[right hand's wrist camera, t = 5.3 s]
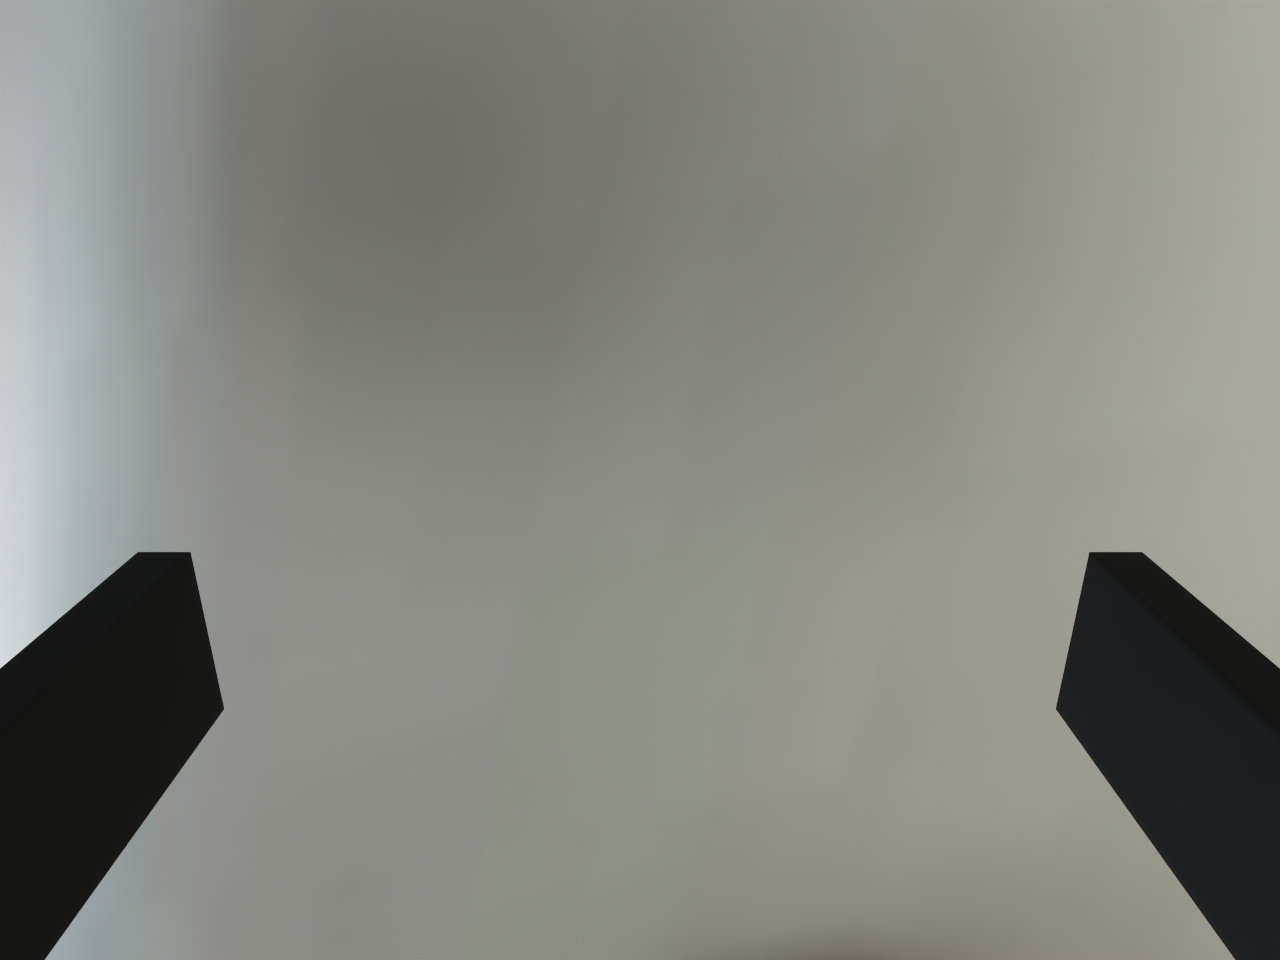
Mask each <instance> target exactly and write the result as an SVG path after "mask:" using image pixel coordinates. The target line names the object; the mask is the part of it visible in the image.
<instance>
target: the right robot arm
mask: <svg viewBox="0 0 1280 960" xmlns="http://www.w3.org/2000/svg"><path fill="white" fill-rule="evenodd" d="M223 710H224V707H223V702H222V697H221V693H220V688H219V683H218V679H217V674H216V669H215V665H214V660H213V655H212V651H211V646H210V641H209V637H208V632H207V627H206V623H205V618H204V613H203V609H202V604H201V599H200V595H199V590H198V585H197V581H196V576H195V571H194V567H193V562H192V557H191V553H190V552H138V553H137V554H135V555H134V556H133V557H132V558H131V559H129V560H128V561H127V562H126V563H125V564H124V565H122V566H121V567H120V568H119V569H118V570H116V571H115V572H114V573H113V574H112V575H111V576H109V577H108V578H107V579H106V580H105V581H103V582H102V583H101V584H100V585H99V586H97V587H96V588H95V589H94V590H93V591H92V592H90V593H89V594H88V595H87V596H86V597H84V598H83V599H82V600H81V601H80V602H79V603H77V604H76V605H75V606H74V607H73V608H71V609H70V610H69V611H68V612H67V613H66V614H64V615H63V616H62V617H61V618H60V619H58V620H57V621H56V622H55V623H54V624H53V625H51V626H50V627H49V628H48V629H47V630H45V631H44V632H43V633H42V634H41V635H40V636H38V637H37V638H36V639H35V640H34V641H32V642H31V643H30V644H29V645H28V646H27V647H25V648H24V649H23V650H22V651H21V652H19V653H18V654H17V655H16V656H15V657H14V658H12V659H11V660H10V661H9V662H8V663H6V664H5V665H4V666H3V667H2V668H1V669H0V960H45V958H46V957H47V956H48V954H49V953H50V951H51V950H52V949H53V947H54V946H55V944H56V943H57V942H58V940H59V939H60V937H61V936H62V935H63V933H64V932H65V930H66V929H67V928H68V926H69V925H70V924H71V922H72V921H73V919H74V918H75V917H76V915H77V914H78V912H79V911H80V910H81V908H82V907H83V905H84V904H85V903H86V901H87V900H88V898H89V897H90V896H91V894H92V893H93V891H94V890H95V889H96V887H97V886H98V884H99V883H100V882H101V880H102V879H103V877H104V876H105V875H106V873H107V872H108V870H109V869H110V868H111V866H112V865H113V863H114V862H115V861H116V859H117V858H118V856H119V855H120V854H121V852H122V851H123V849H124V848H125V847H126V845H127V844H128V842H129V841H130V840H131V838H132V837H133V835H134V834H135V833H136V831H137V830H138V828H139V827H140V826H141V824H142V823H143V821H144V820H145V819H146V817H147V816H148V815H149V813H150V812H151V810H152V809H153V808H154V806H155V805H156V803H157V802H158V801H159V799H160V798H161V796H162V795H163V794H164V792H165V791H166V789H167V788H168V787H169V785H170V784H171V782H172V781H173V780H174V778H175V777H176V775H177V774H178V773H179V771H180V770H181V768H182V767H183V766H184V764H185V763H186V761H187V760H188V759H189V757H190V756H191V754H192V753H193V752H194V750H195V749H196V747H197V746H198V745H199V743H200V742H201V740H202V739H203V738H204V736H205V735H206V733H207V732H208V731H209V729H210V728H211V726H212V725H213V724H214V722H215V721H216V719H217V718H218V717H219V715H220V714H221V712H222V711H223ZM1056 710H1057V711H1058V712H1059V714H1060V715H1061V717H1062V718H1063V719H1064V721H1065V722H1066V724H1067V725H1068V726H1069V728H1070V729H1071V731H1072V732H1073V733H1074V735H1075V736H1076V738H1077V739H1078V740H1079V742H1080V743H1081V745H1082V746H1083V747H1084V749H1085V750H1086V752H1087V753H1088V754H1089V756H1090V757H1091V759H1092V760H1093V761H1094V763H1095V764H1096V766H1097V767H1098V768H1099V770H1100V771H1101V773H1102V774H1103V775H1104V777H1105V778H1106V780H1107V781H1108V782H1109V784H1110V785H1111V787H1112V788H1113V789H1114V791H1115V792H1116V794H1117V795H1118V796H1119V798H1120V799H1121V801H1122V802H1123V803H1124V805H1125V806H1126V808H1127V809H1128V810H1129V812H1130V813H1131V815H1132V816H1133V817H1134V819H1135V820H1136V821H1137V823H1138V824H1139V826H1140V827H1141V828H1142V830H1143V831H1144V833H1145V834H1146V835H1147V837H1148V838H1149V840H1150V841H1151V842H1152V844H1153V845H1154V847H1155V848H1156V849H1157V851H1158V852H1159V854H1160V855H1161V856H1162V858H1163V859H1164V861H1165V862H1166V863H1167V865H1168V866H1169V868H1170V869H1171V870H1172V872H1173V873H1174V875H1175V876H1176V877H1177V879H1178V880H1179V882H1180V883H1181V884H1182V886H1183V887H1184V889H1185V890H1186V891H1187V893H1188V894H1189V896H1190V897H1191V898H1192V900H1193V901H1194V903H1195V904H1196V905H1197V907H1198V908H1199V910H1200V911H1201V912H1202V914H1203V915H1204V917H1205V918H1206V919H1207V921H1208V922H1209V924H1210V925H1211V926H1212V928H1213V929H1214V930H1215V932H1216V933H1217V935H1218V936H1219V937H1220V939H1221V940H1222V942H1223V943H1224V944H1225V946H1226V947H1227V949H1228V950H1229V951H1230V953H1231V954H1232V956H1233V957H1234V958H1235V960H1280V669H1279V668H1278V667H1277V666H1276V665H1275V664H1274V663H1272V662H1271V661H1270V660H1269V659H1268V658H1266V657H1265V656H1264V655H1263V654H1262V653H1261V652H1259V651H1258V650H1257V649H1256V648H1255V647H1253V646H1252V645H1251V644H1250V643H1249V642H1248V641H1246V640H1245V639H1244V638H1243V637H1242V636H1240V635H1239V634H1238V633H1237V632H1236V631H1235V630H1233V629H1232V628H1231V627H1230V626H1229V625H1227V624H1226V623H1225V622H1224V621H1223V620H1222V619H1220V618H1219V617H1218V616H1217V615H1216V614H1214V613H1213V612H1212V611H1211V610H1210V609H1209V608H1207V607H1206V606H1205V605H1204V604H1203V603H1201V602H1200V601H1199V600H1198V599H1197V598H1196V597H1194V596H1193V595H1192V594H1191V593H1190V592H1188V591H1187V590H1186V589H1185V588H1184V587H1183V586H1181V585H1180V584H1179V583H1178V582H1177V581H1175V580H1174V579H1173V578H1172V577H1171V576H1169V575H1168V574H1167V573H1166V572H1165V571H1164V570H1162V569H1161V568H1160V567H1159V566H1158V565H1156V564H1155V563H1154V562H1153V561H1152V560H1151V559H1149V558H1148V557H1147V556H1146V555H1145V554H1143V553H1142V552H1090V553H1089V557H1088V562H1087V567H1086V571H1085V576H1084V581H1083V585H1082V590H1081V595H1080V599H1079V604H1078V609H1077V613H1076V618H1075V623H1074V627H1073V632H1072V637H1071V641H1070V646H1069V651H1068V655H1067V660H1066V665H1065V669H1064V674H1063V679H1062V683H1061V688H1060V693H1059V697H1058V702H1057V707H1056Z"/></svg>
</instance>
